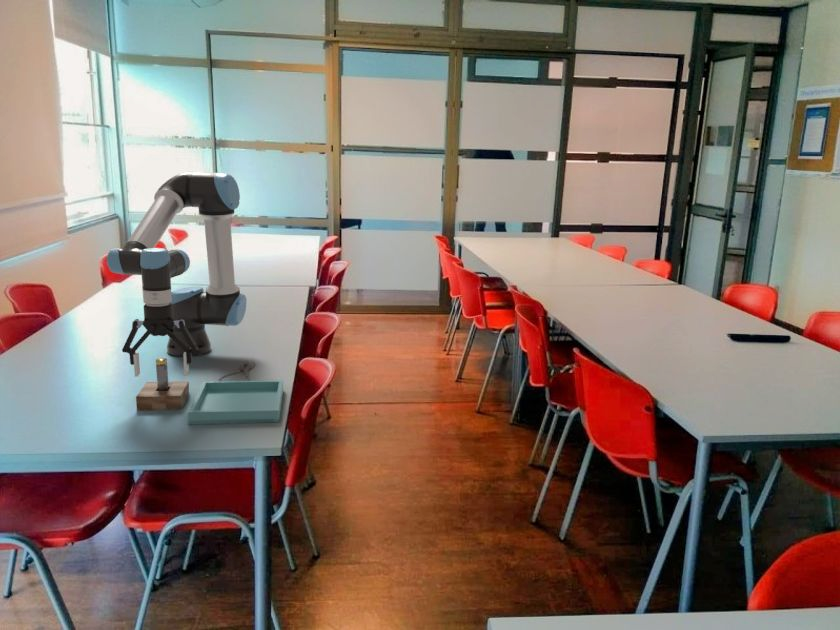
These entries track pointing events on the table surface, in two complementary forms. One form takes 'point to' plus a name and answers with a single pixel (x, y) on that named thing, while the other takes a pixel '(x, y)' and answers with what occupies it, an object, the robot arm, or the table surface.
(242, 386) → the tray
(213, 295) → the robot arm
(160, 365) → the pin
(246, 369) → the pliers
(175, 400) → the pin block
